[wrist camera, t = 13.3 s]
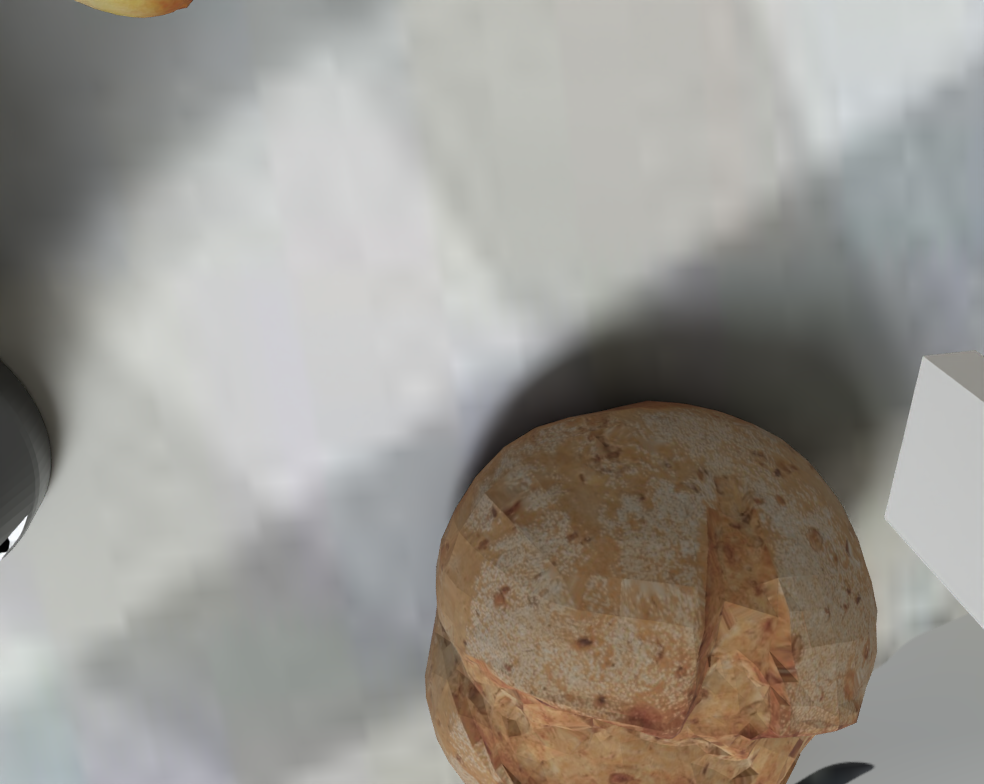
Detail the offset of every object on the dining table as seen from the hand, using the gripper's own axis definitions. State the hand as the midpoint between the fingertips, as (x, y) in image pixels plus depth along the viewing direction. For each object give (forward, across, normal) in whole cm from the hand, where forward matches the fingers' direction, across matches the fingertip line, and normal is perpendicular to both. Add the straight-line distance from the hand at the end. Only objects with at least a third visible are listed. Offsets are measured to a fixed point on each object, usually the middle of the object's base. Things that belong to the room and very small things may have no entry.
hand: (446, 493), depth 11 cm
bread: (+29, +11, -28) cm, 42 cm away
